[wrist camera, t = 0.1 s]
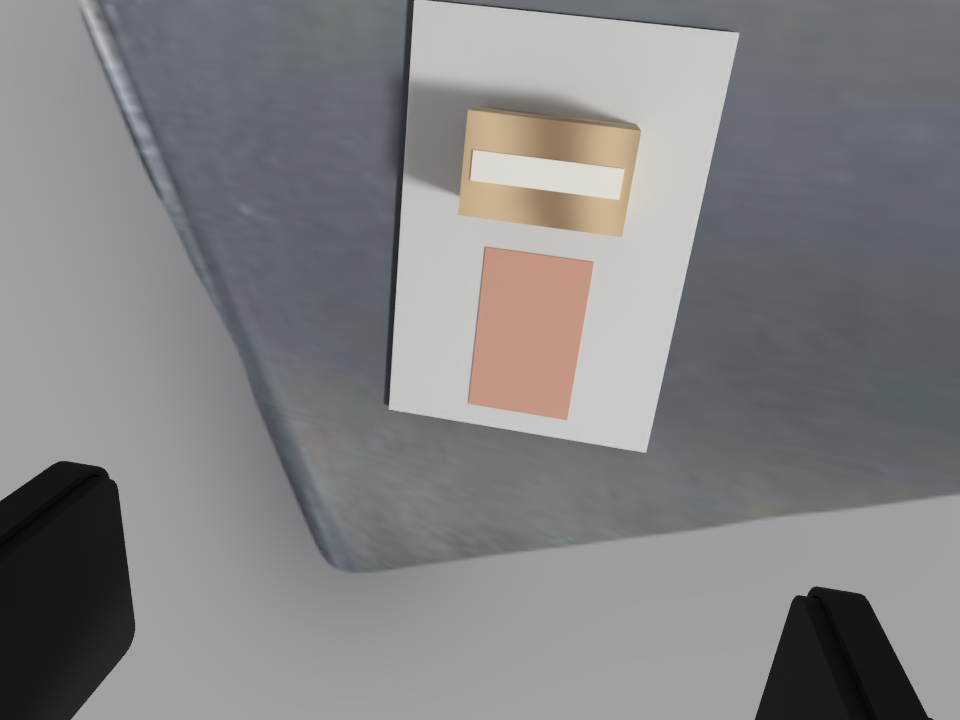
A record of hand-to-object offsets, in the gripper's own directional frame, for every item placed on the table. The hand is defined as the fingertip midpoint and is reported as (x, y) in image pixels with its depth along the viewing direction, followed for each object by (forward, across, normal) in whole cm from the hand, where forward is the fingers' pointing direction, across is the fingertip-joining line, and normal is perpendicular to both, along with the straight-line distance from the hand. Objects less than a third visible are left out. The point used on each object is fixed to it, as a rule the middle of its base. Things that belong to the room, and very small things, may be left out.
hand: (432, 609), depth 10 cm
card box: (+36, +1, -2) cm, 36 cm away
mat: (+37, +1, +3) cm, 37 cm away
